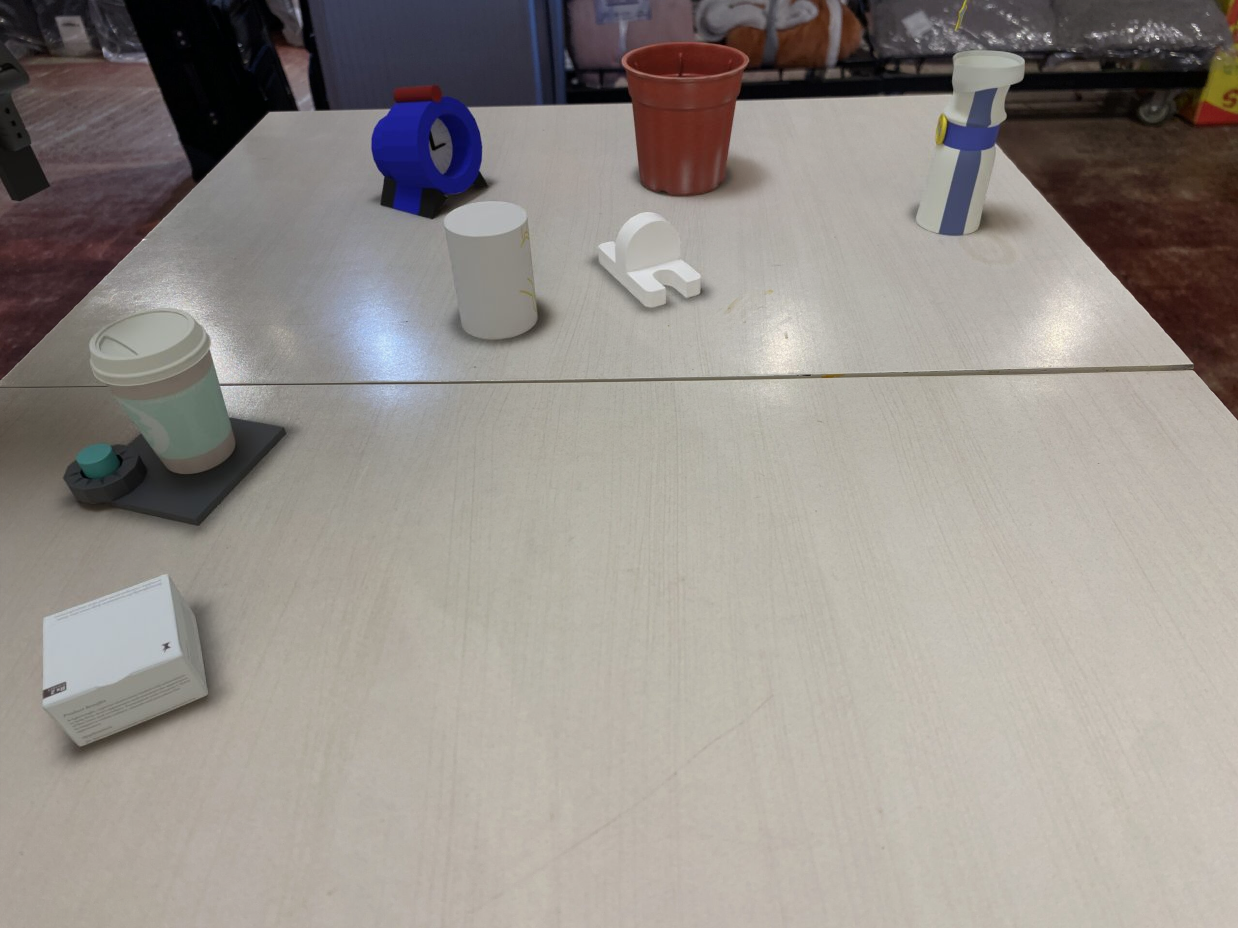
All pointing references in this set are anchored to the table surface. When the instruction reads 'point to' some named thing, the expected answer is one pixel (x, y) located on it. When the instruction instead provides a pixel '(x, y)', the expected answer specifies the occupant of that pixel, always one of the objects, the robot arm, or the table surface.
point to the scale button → (98, 460)
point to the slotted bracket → (649, 260)
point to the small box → (121, 660)
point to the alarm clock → (426, 150)
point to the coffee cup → (166, 386)
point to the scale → (173, 477)
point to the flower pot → (683, 112)
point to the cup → (492, 268)
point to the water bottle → (967, 140)
